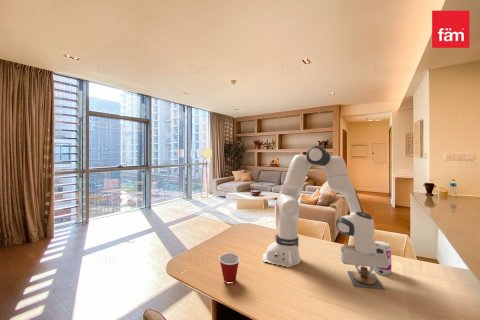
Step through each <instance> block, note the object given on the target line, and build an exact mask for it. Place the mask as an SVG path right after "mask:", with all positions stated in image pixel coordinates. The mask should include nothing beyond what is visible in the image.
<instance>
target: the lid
mask: <svg viewBox="0 0 480 320" xmlns="http://www.w3.org/2000/svg"><path fill="white" fill-rule="evenodd" d="M360 270H361V274H358V273H357V270H356V271H354V273H353V278H354V279H355V280H356V281H358V282H360V283H363V284H375V283H376V278H375V277H374V276H373V275H368V270H369V269H368V267H367V266H360Z"/></svg>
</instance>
